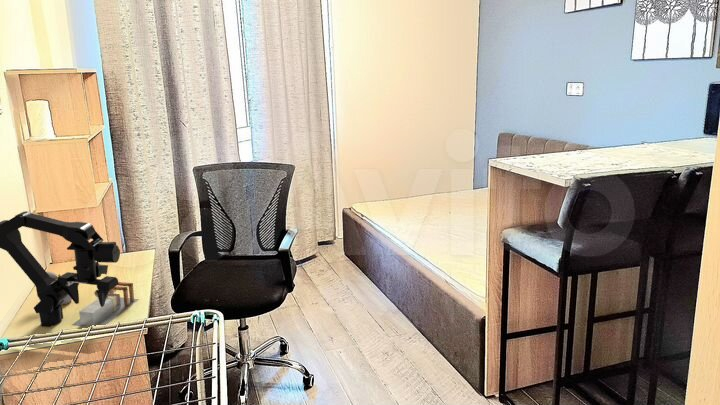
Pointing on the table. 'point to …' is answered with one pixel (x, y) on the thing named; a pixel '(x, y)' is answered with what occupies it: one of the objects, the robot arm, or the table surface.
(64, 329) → the table surface
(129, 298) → the board
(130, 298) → the angle bracket
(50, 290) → the robot arm
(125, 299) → the collar
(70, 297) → the white faceted ball
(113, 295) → the grey long block
